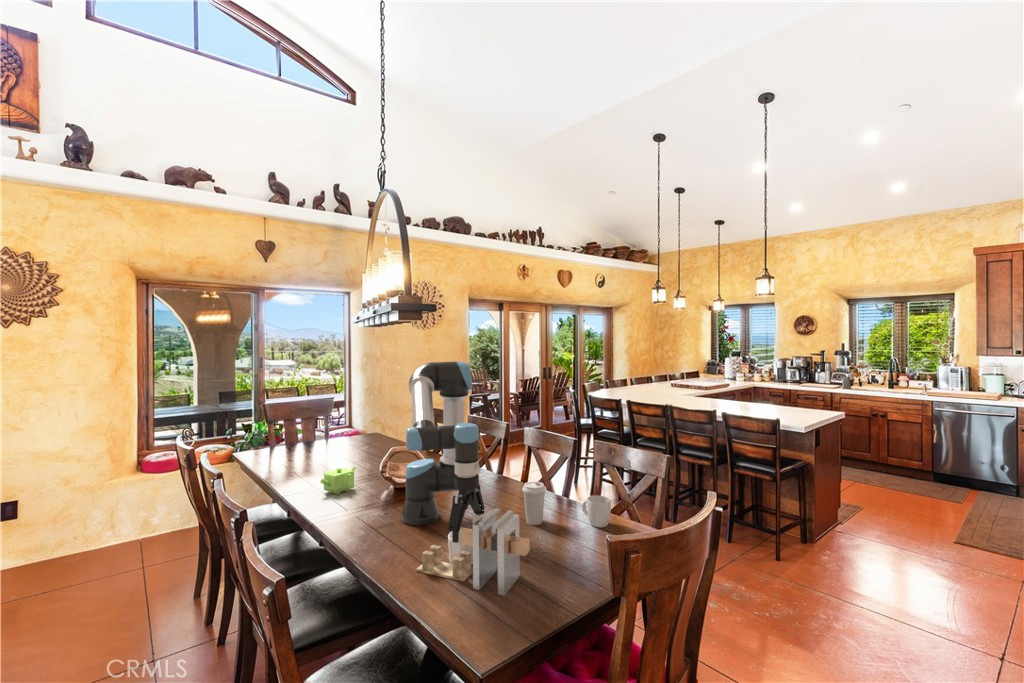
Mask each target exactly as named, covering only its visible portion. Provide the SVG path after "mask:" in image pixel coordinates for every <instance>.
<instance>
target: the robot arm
mask: <svg viewBox="0 0 1024 683" xmlns="http://www.w3.org/2000/svg"><path fill="white" fill-rule="evenodd" d="M471 390H473V380H472V373H471V368H470V365H469V363H467V362H465V361H456V360H455V361H430V362H426V363H424V364H422V365H420V366H419V367H417V368H416V370H415V371H413V373H412V374H411V376H410V378H409V381H408V391H409V393H410V394H411V427H408V428H406V431H405V432H406V433H405V434H406V438H405V441H406V442H405V446H406V449H407V451H409V452H411V451H413V452H414V451H415V452H422V451H424V452H425V451H435V450H443V454H442V455H441V456H440V457H439V462H435V460H434V459H433V458H423V459H422V458H421V459H417V460H413V461H411V462H409V463H408V464H407V465H406V467H405V476H404V478H405V502H404V505H403V508H402V510H401V511H402V512H401V521H402V522H403V523H404V524H406V525H410V526H423V525H429V524H432V523H434V522H436V521H438V519H439V518H440V510H439V508H438V504H437V502H436V498H435V497H436V496H435V493H438V492H440V493H441V492H454V491H455V492H458V493H457V495H453V496H452V504H451V510H450V511H451V512H450V515H449V521H448V525H447V531H448V532H450V533H451V532H452V552H456V553H461V552H462V534H461V530H460V528H461V527H462V524H463V520H464V517H465V513H466V511H467V510H468V509H469V506H470V507H471V510H472V512H473V514H472V525H473V524H474V523H475V522H476V521H478V520H479V519H480V518H481V517H482V515H485V508H486V507H485V503H484V499H483V494H482V491H481V484H480V476H479V475H480V474H479V473H480V470H479V468H480V466H481V465H480V463H479V462H480V461H479V441H480V440H479V438H480V434H479V425H477V424H476V423H470V422H465V399H466V398H467V397H468V396H469V391H471ZM433 392H439V397H440V398H442V400H443V402H442V403H443V406H442V407H443V411H442V412H443V415H442V417H443V420H442V422H443V423H442V424H443V425H437V426H436V424H435V416H434V415H435V414H434V413H435V412H434V401H433Z"/></svg>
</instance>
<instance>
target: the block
mask: <svg viewBox="0 0 1024 683" xmlns="http://www.w3.org/2000/svg"><path fill="white" fill-rule="evenodd" d="M460 530H461V534H462V544H463V545H468V546H473V528H467V527H462V526H461V528H460ZM530 544H531V542H530V538H527V537H521V536H519V537H516V536H510V535H508V553H511V554H517V555H520V556H524V557H526V556H527V555H528V554H529V552H530V551H531V550H530ZM484 549H490V550H493V551H496V552H498V539H497V532H496V533H492V532H486V530H485V531H484Z"/></svg>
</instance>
